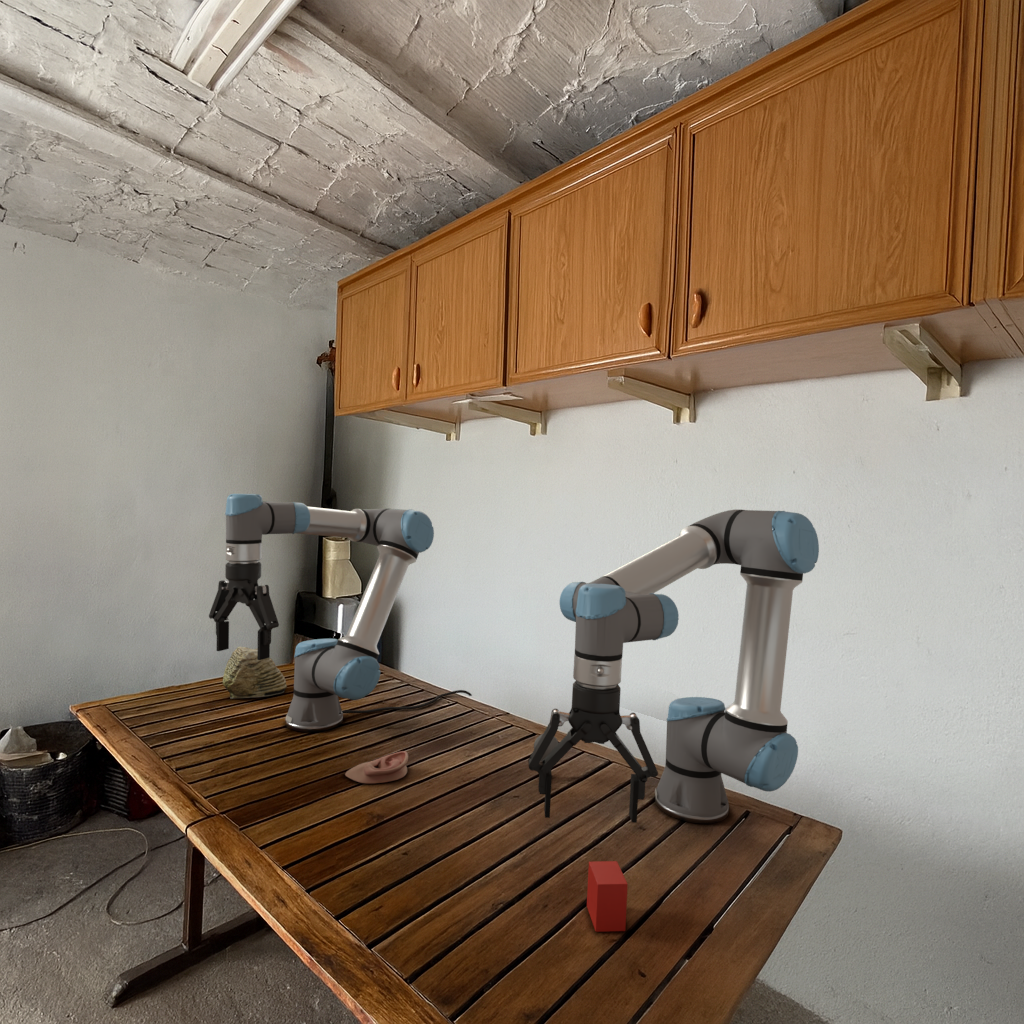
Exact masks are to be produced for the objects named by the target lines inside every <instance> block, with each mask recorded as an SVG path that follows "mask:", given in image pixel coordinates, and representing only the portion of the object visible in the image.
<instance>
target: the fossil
mask: <svg viewBox="0 0 1024 1024" xmlns="http://www.w3.org/2000/svg"><path fill="white" fill-rule="evenodd" d="M257 651H258V647H257V648H251V647H247V646H246V647H245V646H238V647H237V648H236V649H235V650H233V651H232V653H231V656H230V657H229V659H228V660H227V663H226V666H225V668H224V671H223V675H222V676H223V677H222V685H223V687H224V688H225V690H226V691H228V693H229V698H230V699H250V698H264V697H271V696H275V695H281V694H284V693H285V691H286V689H287V687H288V686H287V680H286V678H285V676H284V674H283V673H282V672H281V669H279V668H278V667H277V665H276V663H275V662H274V660H273V659H272V658H271V657H270V658H266V659H263V660H257Z"/></svg>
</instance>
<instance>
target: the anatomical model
mask: <svg viewBox="0 0 1024 1024" xmlns="http://www.w3.org/2000/svg"><path fill="white" fill-rule="evenodd" d="M408 761H409V753H408V752H407V751H404V750H402V751H397V752H394V753H393V752H392V753H390V754H387V755H384V756H381V757H378V758H376V759H373V760H371V761H367V762H362V763H359V764H357V765H355V766H353V767H351V768H350V769H348V770H347V771H346V772H345V773H344V775H345V777H347V778H348V779H349V780H352V781H354V782H358V783H360V784H380V783H388V782H393V781H397V780H400V779H402V778H404V777H405V776H406V775H407V773H408V767H407V763H408Z"/></svg>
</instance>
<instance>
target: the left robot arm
mask: <svg viewBox="0 0 1024 1024" xmlns="http://www.w3.org/2000/svg"><path fill="white" fill-rule="evenodd" d="M224 515H225V561H227V562H226V563H225V567H224V569H225V570H224V571H225V572H224V573H225V574H224V575H225V576H224V577H225V579H223V580H219V581H218V585H217V586H218V588H217V591H216V594H215V597H214V599H213V603H212V605H211V609H210V610H209V614H208V617H209V619H212V620H213V622H214V623H215V636H216V652H221V651H222V652H223V651H226V650H230V621H229V616H230V615H231V613H232V611H233V610H234V609H235V607H236V605H237V604H238V603H241V604H243V605H244V604H245V606H246V607H248V608H249V610H250V612H251V613H252V616H253V617H254V619H255V621H256V623H257V625H258V627H259V629H258V630H257V648H258V651H257V660H263V659H266V658H271V656H270V655H271V654H270V653H271V649H270V648H271V647H270V646H271V644H272V631H273V629H276V628H279V626H280V623H279V620H278V617H277V613H276V611H275V608H274V605H273V602H272V599H271V596H270V587H269V584H263V585H259V579H261V578H262V563H261V562H260V561H261V560H262V558H263V557H262V556H263V555H262V554H263V553H262V552H263V551H262V549H263V547H262V546H263V543H262V539H263V535H265V536H266V535H283V534H284V535H285V534H286V535H288V534H290V535H291V534H292V535H295V534H299V535H308V536H309V535H311V536H323V537H337V538H347V539H348V540H349V541H351V542H355V543H364V544H367V545H372V546H375V547H377V551H378V553H379V555H378V558H377V560H376V563H375V565H374V568H373V570H372V573H371V575H370V577H369V580H368V582H367V585H366V587H365V590H364V592H363V594H362V596H361V599H360V601H359V604H358V607H357V608H356V610H355V614H354V615H353V618H352V620H351V623H350V625H349V628H348V630H347V633H346V635H344V636H341V637H340V638H338V639H337V638H317V639H308V640H304V641H300V642H299V643H297V645H296V646H295V650H294V655H293V657H294V672H293V673H294V674H293V695H292V696H293V697H292V699H291V702H290V704H289V708H288V711H287V713H286V715H285V726H286V728H287V729H289V730H291V731H294V732H295V731H296V732H301V733H316V732H325V731H329V730H332V729H335V728H337V727H339V726H340V725H342V723H343V722H344V714H370V713H377V712H382V711H392V710H393V711H395V710H397V711H398V710H399V711H400V710H402V711H404V710H405V711H406V710H407V711H408V710H416V709H420V708H424V707H426V706H429V705H431V704H433V703H435V702H437V701H438V700H440V698H443V697H447V696H451V695H454V694H455V695H456V694H466V695H467V696H469V697H472V696H473V694H472V693H471V692H469V691H467V690H464V689H458V690H453V691H449V692H446V693H445V692H444V693H442V694H439V695H437V696H436V697H435V698H434V699H431V700H430V701H427V702H424V703H422V704H418V705H411V706H385V707H379V708H373V709H362V710H361V709H359V710H357V709H356V710H355V709H354V710H353V709H350V710H349V709H348V710H347V709H346V710H343V709H342V706H341V702H340V699H339V698H342V699H347V700H352V701H357V700H361V699H363V698H364V697H366V696H369V695H370V694H371V693H372V692H373V691H374V689H375V688H376V687H377V685H378V684H379V681H380V677H381V670H380V668H381V666H380V663H379V661H378V659H379V656H380V652H379V649H378V643H379V641H380V638H381V636H382V633H383V630H384V628H385V626H386V624H387V621H388V618H389V615H390V613H391V611H392V608H393V605H394V603H395V601H396V598H397V596H398V593H399V590H400V588H401V586H402V583H403V580H404V577H405V575H406V573H407V570H408V568H409V566H411V565H412V564H414V563H416V562H417V560H418V558H419V554H420V553H424V552H426V551H427V550H429V548H430V547H432V544H433V541H434V537H435V531H434V526H433V522H432V520H431V519H430V517H429V516H428V515H427V514H426V513H424V512H423V511H421V510H415V509H413V508H411V509H410V508H409V509H401V508H399V509H398V508H369V509H367V508H353V509H352V510H350V511H349V510H343V509H342V510H341V509H333V508H323V507H316V506H307V505H306V504H305V503H303V502H296V501H291V502H289V501H285V502H283V501H267V500H266V501H264V500H263V496H262V495H261V494H258V493H231V494H229V495H228V496H227V498H226V504H225V514H224Z"/></svg>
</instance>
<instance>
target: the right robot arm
mask: <svg viewBox="0 0 1024 1024" xmlns="http://www.w3.org/2000/svg"><path fill="white" fill-rule="evenodd" d="M817 533H818V532H817V531H816V528H815V527H814V525H813V523H812V521H811V520H810V519H809V518H808V517H807V516H806V515H804V514H802V513H799V512H792V511H785V510H757V509H756V510H755V509H754V510H753V509H751V510H750V509H729V510H725V511H721V512H718V513H714V514H711V515H709V516H707V517H704V518H702V519H699V520H697V521H696V522H693V523H691V524H690V525H688V526H685V527H684V528H683V529H681V531H680V532H679V534H678V536H677V537H675V538H673V539H671V540H669V541H667V542H666V543H663V544H662V545H660V546H658V547H656V548H654V549H652V550H650V551H648V552H646V553H644V554H643V555H640V556H639V557H637V558H635V559H633V560H631V561H630V562H627V563H625V564H623V565H622V566H620V567H617V568H616V569H614V570H612V571H610V572H608V573H606V574H604V575H603V576H600V577H598V578H596V579H595V580H593V581H591V582H585V581H572V582H570V583H568V584H567V585H565V586H564V588H563V589H562V591H561V593H560V596H559V609H560V612H561V614H562V615H563V617H564V618H565V619H566V620H569V621H570V622H574V623H575V632H574V635H575V638H574V654H573V655H574V656H573V669H572V670H573V672H572V674H573V675H572V677H573V680H575V681H574V682H573V683H572V691H571V692H572V694H571V708H570V710H569V712H564V711H560V710H559V709H558V708H552V709H551V713H550V718H549V723H548V724H547V726H546V728H545V730H544V731H543V733H542V734H543V735H542V737H541V738H540V740H539V742H538V744H537V745H536V747H535V749H534V748H533V751H532V753H530V756H529V758H528V769H529V770H530V771H534V772H537V774H538V793H539V795H544V805H543V806H544V807H543V808H544V809H543V810H544V818H545V819H551V803H552V802H551V799H552V784H553V783H552V781H553V775H552V770H553V768H554V767H555V766H556V765H557V764H558V763H559V762H560V761H561V759H562V758H564V756H566V754H567V753H568V752H569V751H571V749H572V748H573V747H575V746H576V745H577V744H578V743H579V742H580V741H582V742H584V744H593V743H596V744H598V745H605V743H607V742H610V744H611V745H612V747H614V749H616V751H617V752H618V753H619V755H620V756H621V757H622V759H623V760H624V761H625V762H626V764H627V765H628V766H629V768H630V769H631V770H632V771H633V773H631V774H630V786H629V787H630V788H629V791H630V792H629V805H628V806H629V807H628V815H629V818H630V821H631V823H633V824H634V823H635V824H637V823H638V810H639V809H638V807H639V806H638V805H639V800H641V801H642V800H644V799H645V797H646V782H648V778H656V777H658V776H659V771H658V769H657V767H656V765H655V763H654V760H653V758H652V756H651V753H650V751H649V748H648V746H647V744H646V742H645V739H644V737H643V735H642V733H641V723H640V722H641V721H640V718H639V717H638V715H637V713H635V712H631V713H630V714H629V715H628V714H627V715H626V714H625V715H621V712H620V711H621V710H620V707H621V686H620V685H619V684H620V683H621V682H622V666H623V665H622V663H623V652H624V644H627V643H633V642H634V643H635V642H644V641H656V640H657V641H658V640H659V639H663V638H667V637H669V636H671V635H672V634H673V633H674V632H675V631H676V630H677V628H678V625H679V620H680V618H679V614H680V613H679V610H678V607H677V605H676V603H675V602H674V600H673V599H672V598H671V597H670V596H668V595H666V594H664V593H663V594H662V593H657V592H659V591H660V590H662V589H664V588H666V587H667V586H669V585H671V584H674V582H677V581H679V579H681V578H683V577H685V576H686V575H688V574H690V573H692V572H694V571H695V570H697V569H699V570H705V569H709V568H710V567H712V566H714V565H720V564H721V565H724V564H725V565H726V564H729V565H736V566H740V571H739V575H740V576H741V577H742V578H743V580H744V581H745V582H746V591H745V598H744V608H743V617H742V626H741V627H742V628H741V635H740V636H741V637H740V645H739V655H738V663H737V673H736V681H735V682H736V683H735V692H734V701H733V702H732V703H731V704H729V705H727V706H725V703H724V702H723V701H722V700H720V699H716V698H713V697H705V696H687V697H679V698H676V699H674V700H672V701H671V702H670V703H669V705H668V710H667V718H666V741H665V765H664V768H663V771H662V774H661V776H660V779H659V781H658V784H657V786H656V787H655V789H654V794H655V795H654V802H655V805H656V807H657V808H658V809H660V810H661V811H662V812H663V813H665V814H666V815H667V816H668V815H669V816H670V817H672V818H674V819H677V820H680V821H684V822H688V823H693V824H714V823H720V822H722V821H723V820H725V819H727V817H728V815H729V809H730V808H729V807H730V804H729V799H728V794H727V791H726V788H725V785H724V781H723V777H722V774H723V775H725V776H727V777H730V778H732V779H734V780H737V781H738V782H740V783H743V784H744V785H746V786H747V787H750V788H755V789H757V790H760V791H763V792H774V791H777V790H779V789H781V787H783V786H784V785H785V784H786V783H787V781H788V780H789V779H790V777H791V776H792V774H793V772H794V770H795V767H796V764H797V761H798V757H799V746H798V744H797V739H796V738H795V736H793V735H792V734H790V733H788V723H789V721H788V719H787V718H786V717H785V715H784V714H783V713H782V711H781V708H782V699H783V690H784V681H785V680H784V679H785V672H786V671H785V670H786V661H787V651H788V642H789V633H790V623H791V613H792V603H793V594H794V590H795V588H797V587H798V586H799V585H801V584H802V583H803V580H804V574H807V573H810V572H812V571H813V570H814V569H815V567H816V563H818V559H819V555H820V554H819V553H820V544H819V543H820V542H819V538H818V534H817ZM566 722H568V723H569V725H570V726H571V729H569V730H568V731H567V733H566V735H565V736H564V737H563V738H562V739H561V740H560V742H559V741H558V742H559V744H558V745H557V746H556V747H555V748H554V749H553V750H552V751H551V752H550V753H549V754H548V755H547V756H546V757H545V758H544V759H543V760H542V762H541V759H542V757H543V755H544V753H545V752H546V750H547V748H548V746H549V745H550V743H551V741H552V739H553V738H554V737H556V734H557V732H558V730H559V727H563V726H564V724H565V723H566ZM622 725H625V728H626V729H627V730H628V731H630V732H631V734H632V736H633V739H634V741H635V743H636V745H637V748H638V749H639V753H640V754H641V757H642V759H643V761H644V764H645V766H642V765H641V764H640V763H639V762H638V760H637V759H636V757H635V756H634V755H633V753H632V752H631V751H630V750H629V748H628V747H627V746H626V744H625V743H624V742H623V741H622V739H621V738H620V736H619V735H618V734H617V732H618V730H619V729H620V728H621V727H622Z"/></svg>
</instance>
